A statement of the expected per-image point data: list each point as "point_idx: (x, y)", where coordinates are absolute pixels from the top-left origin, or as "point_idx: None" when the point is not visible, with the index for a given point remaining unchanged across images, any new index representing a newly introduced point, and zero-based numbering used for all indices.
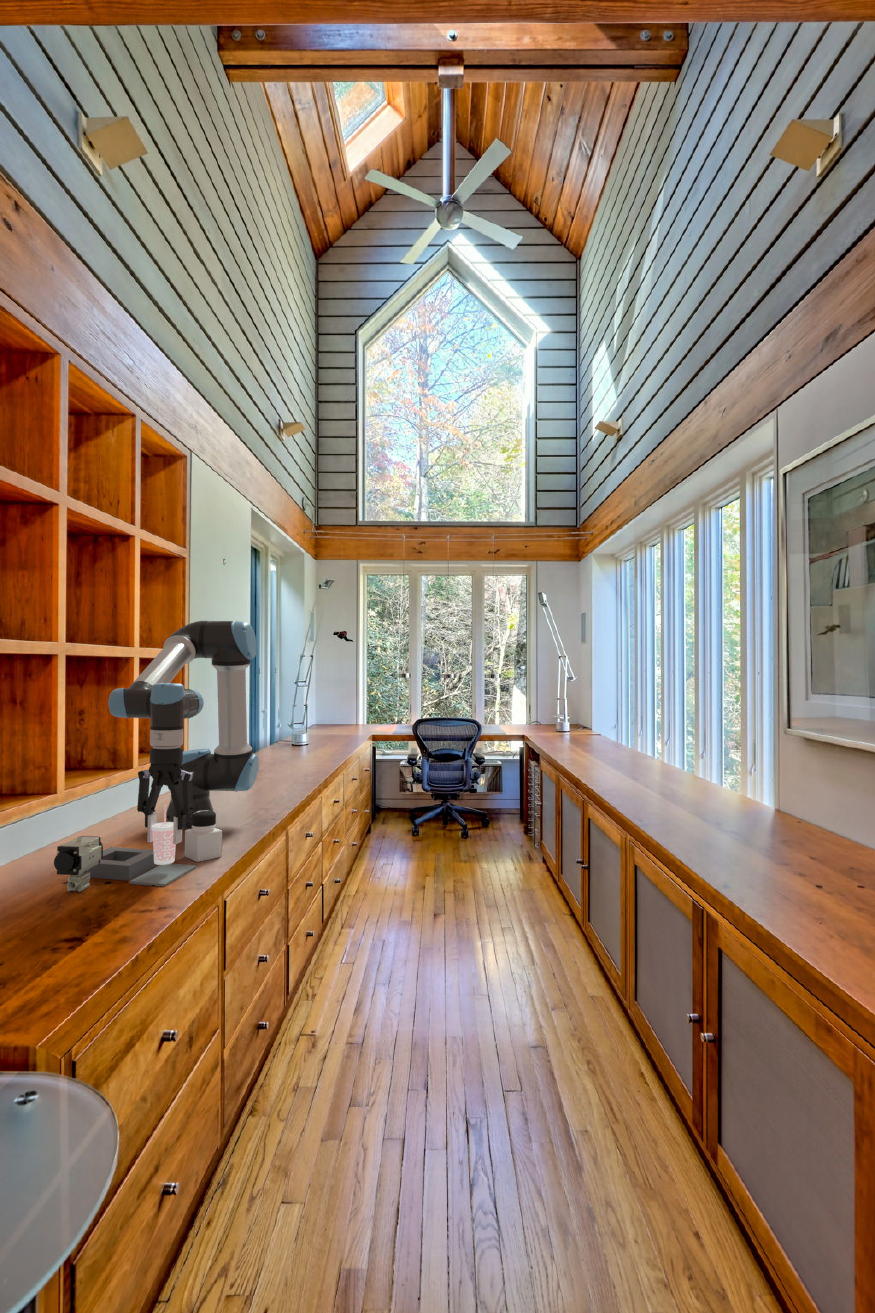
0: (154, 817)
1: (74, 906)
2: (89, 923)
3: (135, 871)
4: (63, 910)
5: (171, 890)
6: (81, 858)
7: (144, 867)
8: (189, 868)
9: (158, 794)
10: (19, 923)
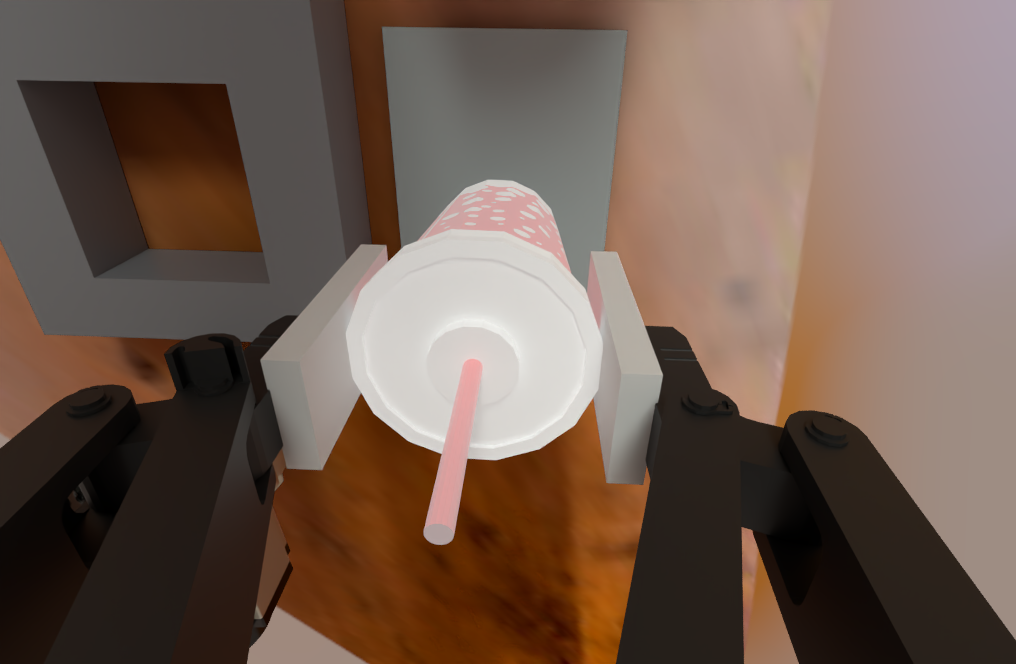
0: (324, 386)
1: (387, 544)
2: (524, 622)
3: None
4: (381, 568)
5: None
6: (268, 607)
7: (356, 188)
8: (608, 104)
9: (195, 624)
10: (343, 635)
